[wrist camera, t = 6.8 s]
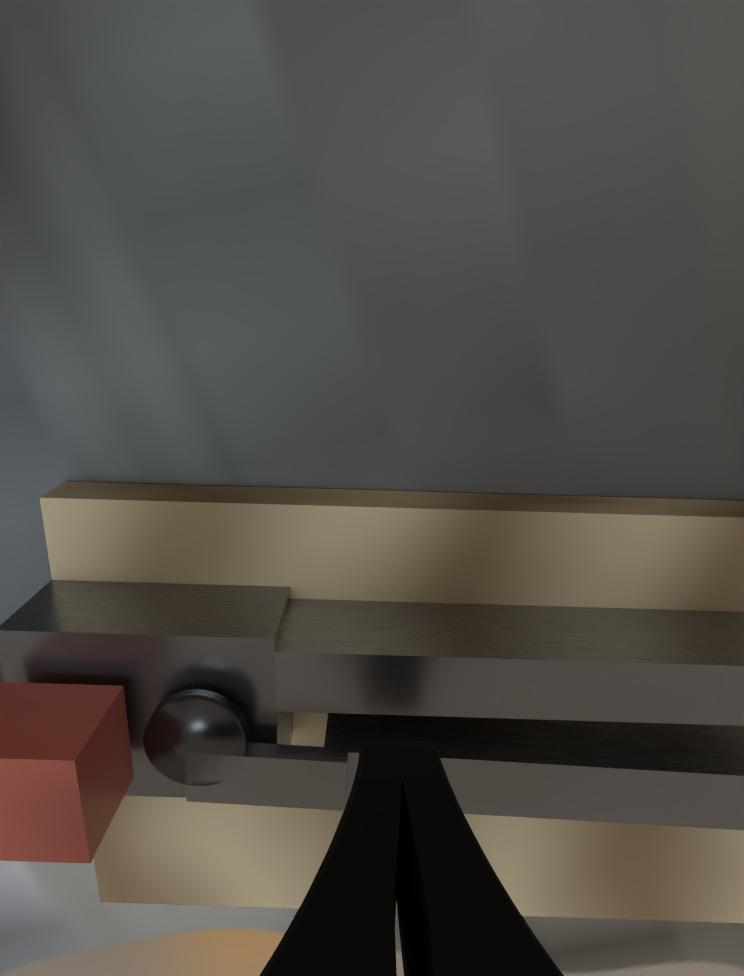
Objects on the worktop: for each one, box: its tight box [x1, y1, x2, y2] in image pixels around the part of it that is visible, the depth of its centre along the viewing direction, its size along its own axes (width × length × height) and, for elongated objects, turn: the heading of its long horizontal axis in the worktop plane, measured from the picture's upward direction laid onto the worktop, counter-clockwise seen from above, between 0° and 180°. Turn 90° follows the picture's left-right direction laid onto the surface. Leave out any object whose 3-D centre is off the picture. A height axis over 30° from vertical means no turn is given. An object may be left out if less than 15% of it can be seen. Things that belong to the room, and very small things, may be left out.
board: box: [40, 481, 744, 923], centre depth 16 cm, size 18×12×1 cm, turn 89°
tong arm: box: [143, 689, 744, 830], centre depth 13 cm, size 14×3×3 cm, turn 87°
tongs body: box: [0, 580, 744, 798], centre depth 14 cm, size 17×4×2 cm, turn 89°
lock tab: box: [0, 682, 134, 863], centre depth 11 cm, size 2×2×2 cm
